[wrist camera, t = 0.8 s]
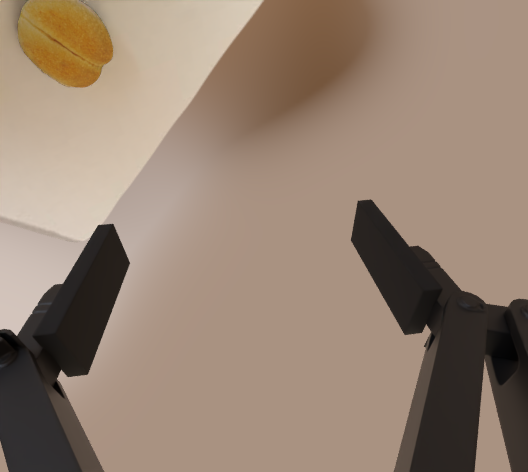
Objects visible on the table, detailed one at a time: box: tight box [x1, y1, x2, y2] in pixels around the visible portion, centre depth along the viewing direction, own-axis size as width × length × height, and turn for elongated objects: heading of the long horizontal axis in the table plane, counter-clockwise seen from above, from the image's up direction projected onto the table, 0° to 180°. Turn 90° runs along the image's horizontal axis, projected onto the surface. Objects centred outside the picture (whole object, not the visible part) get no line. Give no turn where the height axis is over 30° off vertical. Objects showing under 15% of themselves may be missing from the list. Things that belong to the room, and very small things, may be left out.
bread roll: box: [18, 0, 113, 87], centre depth 32 cm, size 8×9×4 cm
